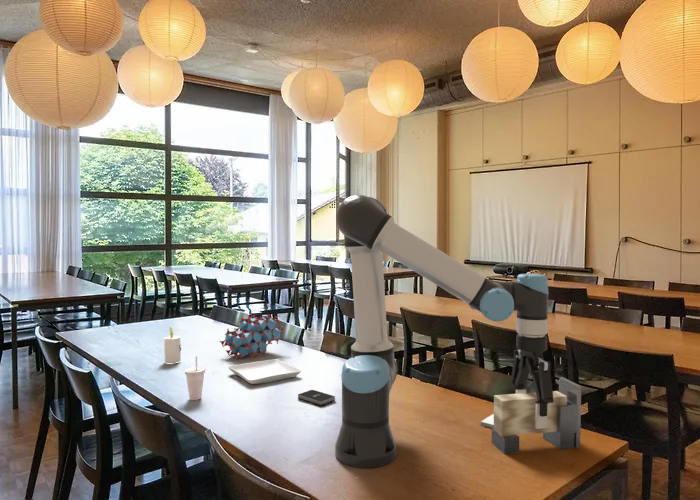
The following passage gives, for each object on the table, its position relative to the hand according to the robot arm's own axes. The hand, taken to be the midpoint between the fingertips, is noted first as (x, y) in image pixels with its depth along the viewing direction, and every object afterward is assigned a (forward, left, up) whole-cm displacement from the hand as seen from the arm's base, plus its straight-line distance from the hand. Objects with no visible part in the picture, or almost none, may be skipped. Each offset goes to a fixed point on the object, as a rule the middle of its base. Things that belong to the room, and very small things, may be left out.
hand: (530, 420), depth 133 cm
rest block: (-7, 0, -7) cm, 10 cm away
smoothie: (-89, +54, -7) cm, 104 cm away
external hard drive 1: (-50, +45, -7) cm, 68 cm away
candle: (-103, +103, -7) cm, 146 cm away
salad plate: (-66, +76, -7) cm, 101 cm away
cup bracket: (+8, 0, -7) cm, 10 cm away
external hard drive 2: (+1, +16, -7) cm, 17 cm away
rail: (0, 0, -3) cm, 3 cm away
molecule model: (-70, +109, -7) cm, 130 cm away
